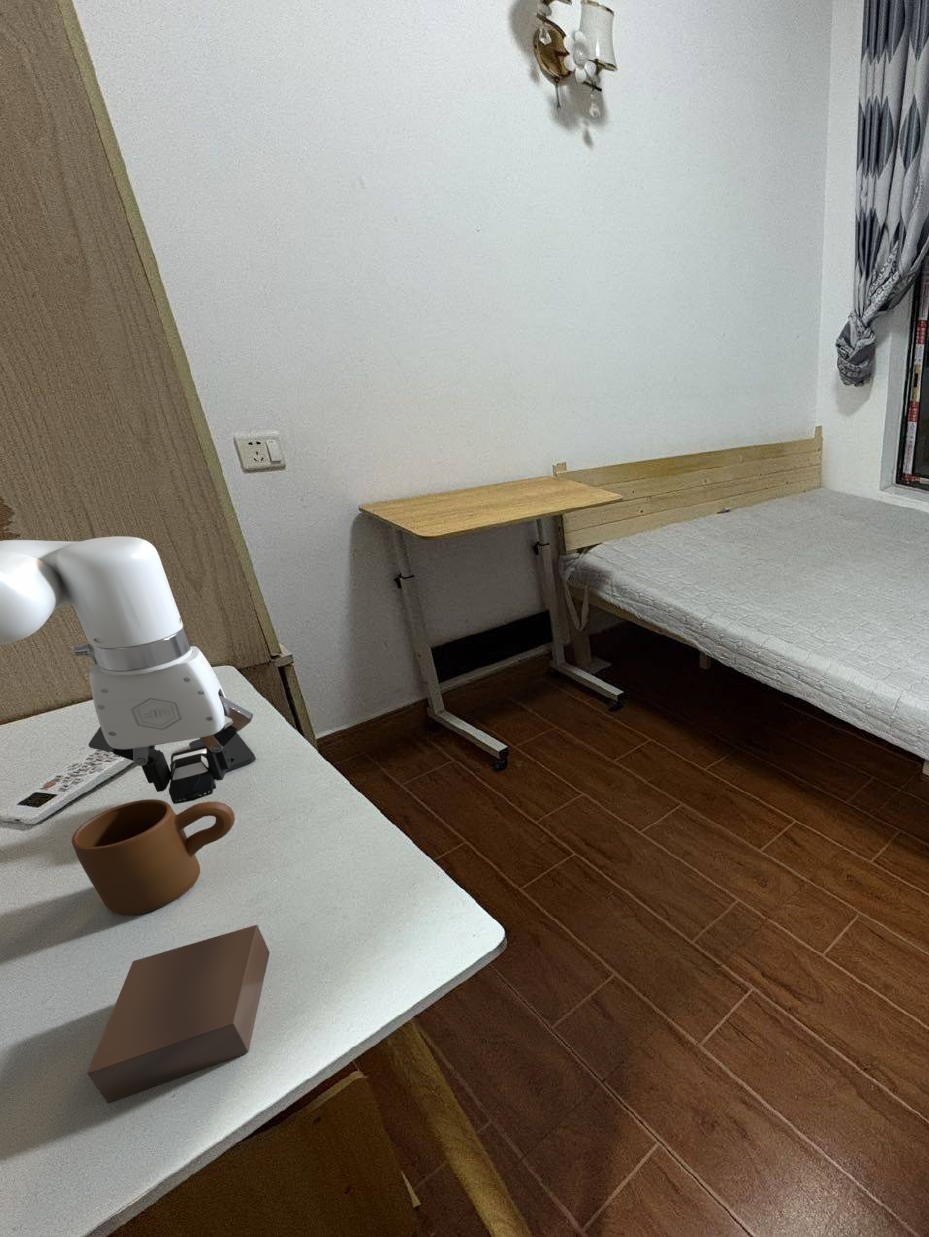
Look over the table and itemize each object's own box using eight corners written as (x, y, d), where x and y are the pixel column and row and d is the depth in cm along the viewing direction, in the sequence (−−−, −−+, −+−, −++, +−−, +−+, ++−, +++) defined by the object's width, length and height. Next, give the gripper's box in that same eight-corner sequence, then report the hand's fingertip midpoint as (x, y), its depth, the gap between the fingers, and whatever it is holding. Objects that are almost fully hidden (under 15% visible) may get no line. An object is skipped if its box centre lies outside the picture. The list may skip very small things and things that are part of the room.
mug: (255, 839, 79) (229, 776, 75) (250, 882, 74) (222, 816, 70) (115, 879, 73) (79, 813, 69) (99, 930, 68) (58, 861, 63)
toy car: (217, 798, 80) (211, 780, 79) (171, 811, 78) (164, 792, 77) (215, 756, 87) (209, 739, 86) (173, 766, 84) (166, 749, 83)
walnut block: (107, 1103, 54) (86, 1073, 52) (149, 989, 62) (132, 960, 61) (248, 1052, 58) (233, 1023, 56) (269, 952, 66) (257, 924, 65)
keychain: (232, 727, 97) (255, 756, 91) (234, 731, 97) (257, 760, 92) (187, 742, 93) (208, 773, 88) (189, 746, 93) (210, 777, 88)
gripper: (18, 677, 68) (86, 817, 75) (233, 650, 76) (275, 780, 83) (50, 645, 74) (110, 778, 81) (246, 623, 81) (284, 747, 89)
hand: (193, 777), depth 82 cm, fingers closed on toy car, 4 cm apart
